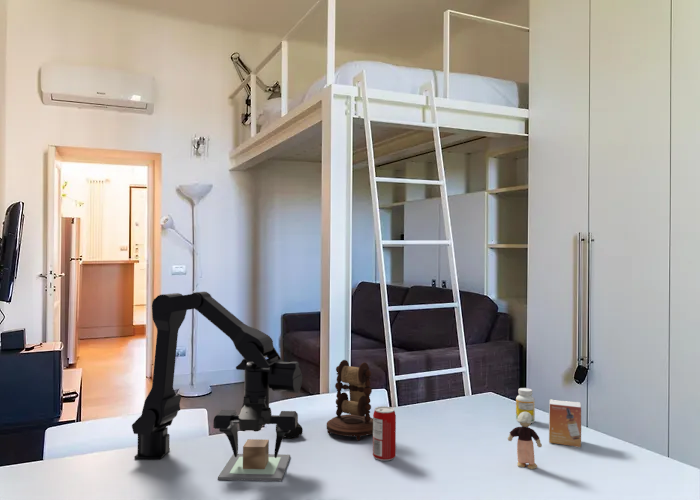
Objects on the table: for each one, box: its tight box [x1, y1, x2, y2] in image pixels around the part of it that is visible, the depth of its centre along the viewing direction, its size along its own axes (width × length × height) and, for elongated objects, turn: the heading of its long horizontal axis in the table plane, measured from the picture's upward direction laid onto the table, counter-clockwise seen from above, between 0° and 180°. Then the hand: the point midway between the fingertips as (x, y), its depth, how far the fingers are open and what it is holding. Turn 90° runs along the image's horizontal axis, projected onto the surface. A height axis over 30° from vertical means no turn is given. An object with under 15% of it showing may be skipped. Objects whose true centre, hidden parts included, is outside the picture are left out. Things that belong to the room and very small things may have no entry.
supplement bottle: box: [515, 387, 536, 424], centre depth 159 cm, size 5×5×10 cm
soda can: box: [372, 406, 397, 462], centre depth 129 cm, size 6×6×12 cm
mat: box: [217, 453, 291, 482], centre depth 122 cm, size 14×14×1 cm
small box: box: [548, 399, 582, 448], centre depth 141 cm, size 8×6×10 cm
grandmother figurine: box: [507, 412, 543, 470], centre depth 124 cm, size 8×4×13 cm, turn 71°
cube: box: [242, 438, 270, 469], centre depth 122 cm, size 5×5×5 cm
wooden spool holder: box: [326, 359, 373, 442], centre depth 147 cm, size 15×15×20 cm
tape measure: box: [275, 422, 304, 439], centre depth 145 cm, size 7×7×4 cm
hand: (256, 456), depth 122 cm, fingers open, 9 cm apart
